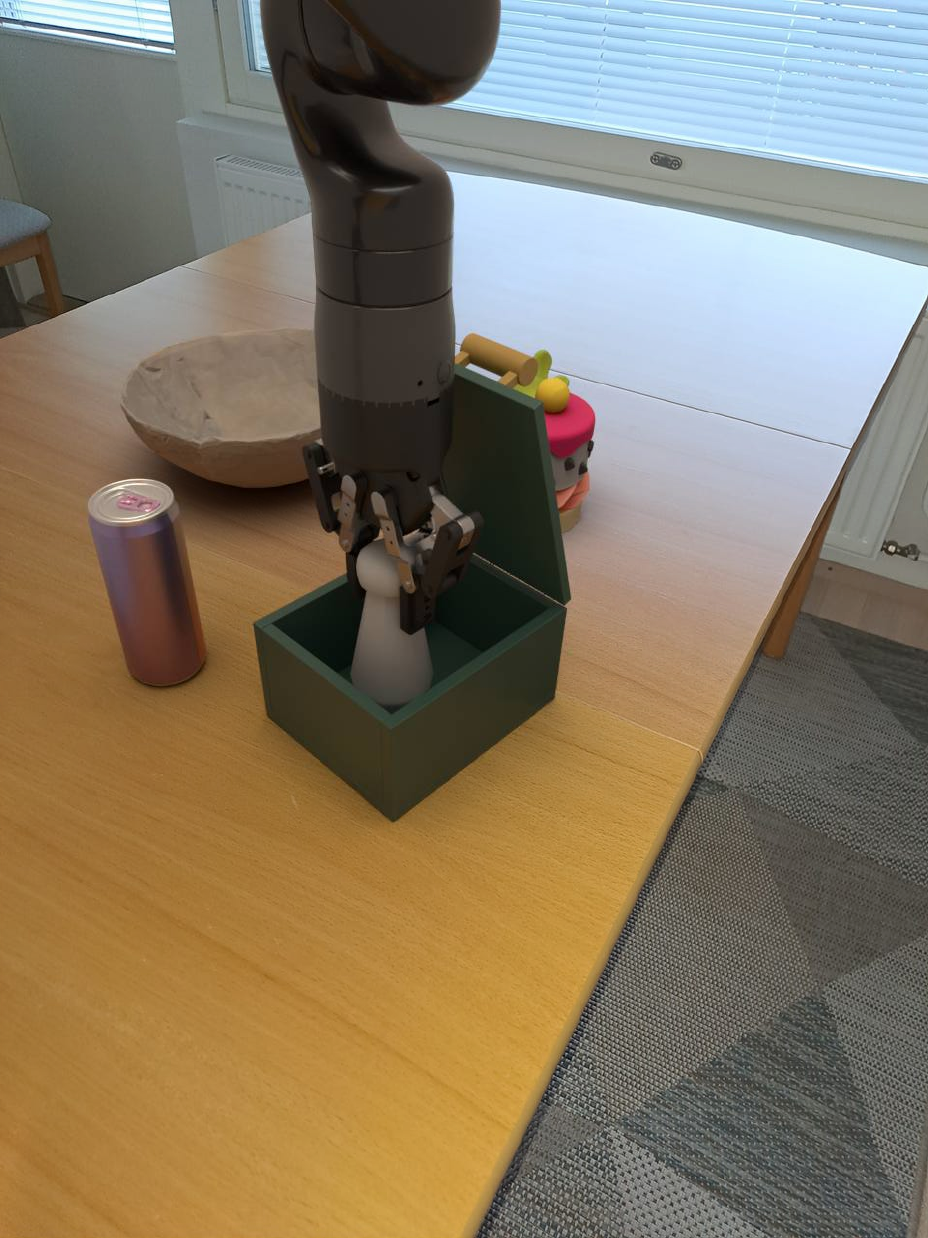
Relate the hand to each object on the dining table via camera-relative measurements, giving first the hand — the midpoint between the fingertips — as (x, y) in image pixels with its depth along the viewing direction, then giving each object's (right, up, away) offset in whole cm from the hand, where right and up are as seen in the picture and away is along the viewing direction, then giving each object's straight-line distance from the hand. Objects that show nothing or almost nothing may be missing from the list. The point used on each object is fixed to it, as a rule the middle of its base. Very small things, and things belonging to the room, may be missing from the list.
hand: (390, 609), depth 61 cm
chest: (+1, -7, +8) cm, 11 cm away
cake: (+11, +10, +30) cm, 33 cm away
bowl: (-16, +15, +35) cm, 41 cm away
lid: (+5, +9, 0) cm, 10 cm away
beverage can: (-18, -4, +11) cm, 22 cm away
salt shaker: (0, -7, +5) cm, 8 cm away
